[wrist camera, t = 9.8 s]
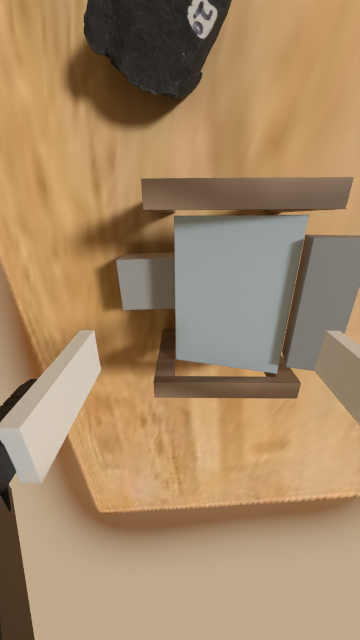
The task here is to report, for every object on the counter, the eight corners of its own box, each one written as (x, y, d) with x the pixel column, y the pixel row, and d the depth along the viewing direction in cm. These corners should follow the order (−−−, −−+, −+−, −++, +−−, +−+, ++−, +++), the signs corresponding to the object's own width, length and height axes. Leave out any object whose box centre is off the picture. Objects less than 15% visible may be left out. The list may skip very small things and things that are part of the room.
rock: (154, -65, 20) (142, -165, 15) (233, 19, 22) (247, -42, 16) (99, 68, 23) (74, 26, 18) (171, 131, 25) (167, 109, 20)
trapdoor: (180, 215, 23) (171, 215, 20) (363, 214, 19) (382, 214, 16) (180, 350, 29) (173, 364, 26) (319, 368, 25) (327, 386, 22)
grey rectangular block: (186, 251, 30) (125, 253, 31) (187, 257, 26) (115, 260, 26) (187, 295, 33) (131, 297, 33) (188, 308, 28) (123, 309, 28)
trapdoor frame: (158, 194, 28) (141, 178, 17) (285, 193, 27) (353, 177, 16) (163, 341, 36) (154, 397, 25) (261, 342, 35) (296, 398, 24)
